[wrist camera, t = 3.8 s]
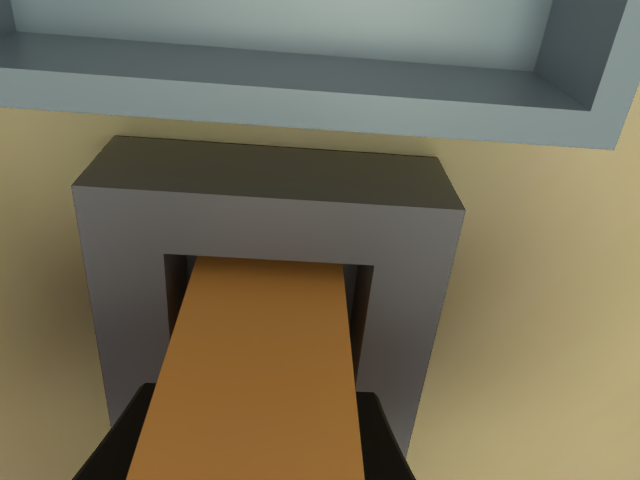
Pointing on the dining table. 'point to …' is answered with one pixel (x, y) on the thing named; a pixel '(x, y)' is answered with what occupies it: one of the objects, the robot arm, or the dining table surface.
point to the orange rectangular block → (255, 378)
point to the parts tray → (335, 64)
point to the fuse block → (267, 248)
